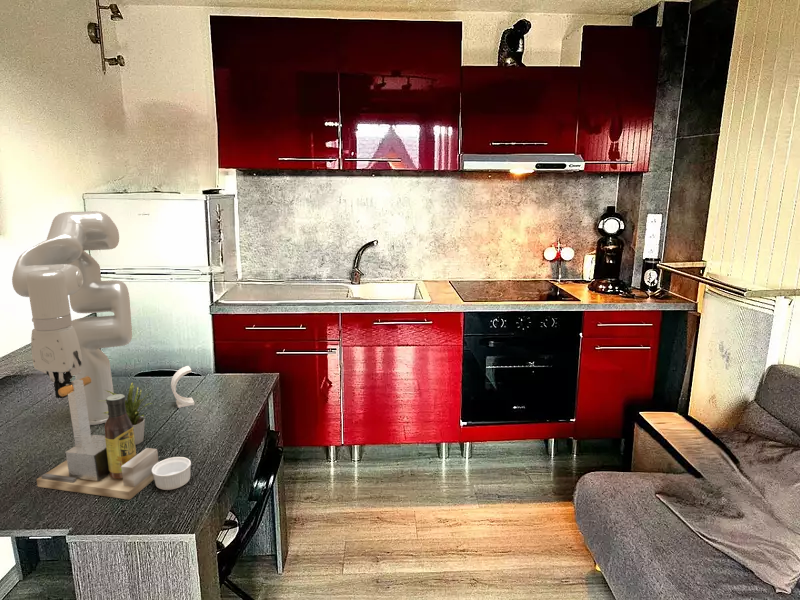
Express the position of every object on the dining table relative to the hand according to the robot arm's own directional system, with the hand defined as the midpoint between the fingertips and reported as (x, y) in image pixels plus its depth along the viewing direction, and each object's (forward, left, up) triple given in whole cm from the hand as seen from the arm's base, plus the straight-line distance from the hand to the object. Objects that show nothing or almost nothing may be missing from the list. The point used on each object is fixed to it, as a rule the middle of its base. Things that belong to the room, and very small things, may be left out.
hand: (64, 395), depth 132 cm
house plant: (+1, +19, -21) cm, 29 cm away
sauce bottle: (+14, 0, -19) cm, 24 cm away
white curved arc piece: (+1, +44, -21) cm, 49 cm away
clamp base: (+8, 0, -21) cm, 23 cm away
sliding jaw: (+7, 0, -19) cm, 20 cm away
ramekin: (+25, +3, -22) cm, 33 cm away
